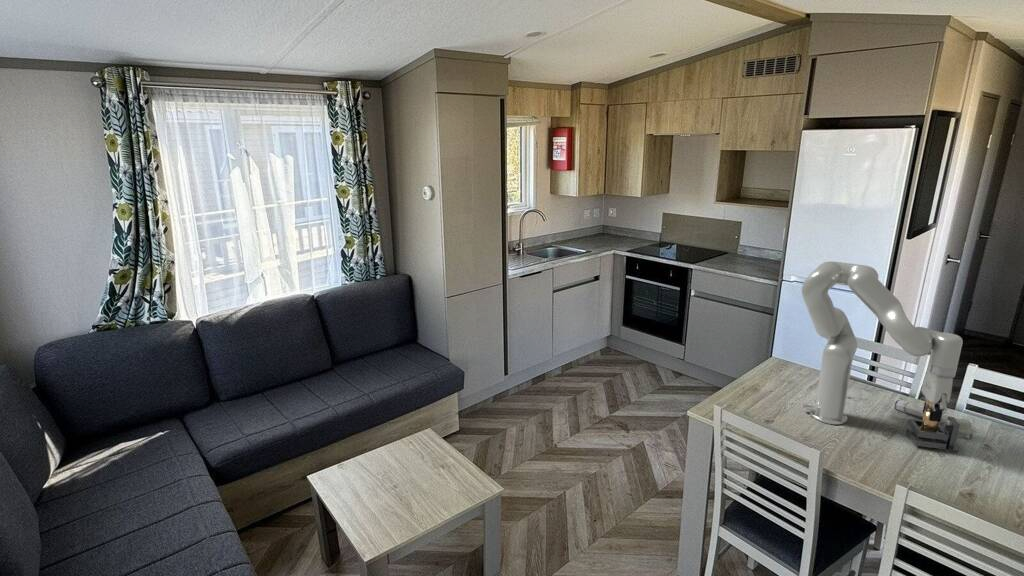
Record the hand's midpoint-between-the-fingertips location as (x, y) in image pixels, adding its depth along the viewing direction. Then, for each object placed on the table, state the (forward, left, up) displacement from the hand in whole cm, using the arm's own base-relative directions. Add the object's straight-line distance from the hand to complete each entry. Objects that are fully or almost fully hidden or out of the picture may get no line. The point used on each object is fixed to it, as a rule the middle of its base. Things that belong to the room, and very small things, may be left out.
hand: (931, 416), depth 187 cm
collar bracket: (+2, 0, -11) cm, 11 cm away
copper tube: (0, 0, -6) cm, 6 cm away
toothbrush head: (+7, +16, -11) cm, 20 cm away
